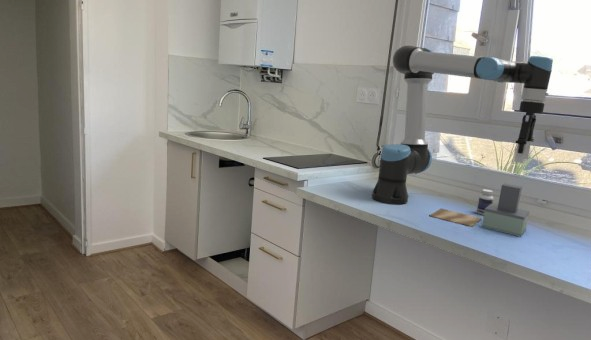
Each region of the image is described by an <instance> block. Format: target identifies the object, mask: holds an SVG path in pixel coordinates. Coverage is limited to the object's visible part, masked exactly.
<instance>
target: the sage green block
mask: <svg viewBox="0 0 591 340" xmlns="http://www.w3.org/2000/svg"><path fill="white" fill-rule="evenodd" d="M528 220H529V215H528V216H527V217H526V218H525V219H524V220H521V219H517V218H513V217H508V216H504V215H499V214H495V213H491V212H486V211H484V215H483V217H482V223H481V226H480V227H481V228H485V229H490V230H494V231H497V232H501V233H505V234H509V235H514V236H517V237H522V236H523V235H524V234H525V232H526V230H527V227H528Z"/></svg>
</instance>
